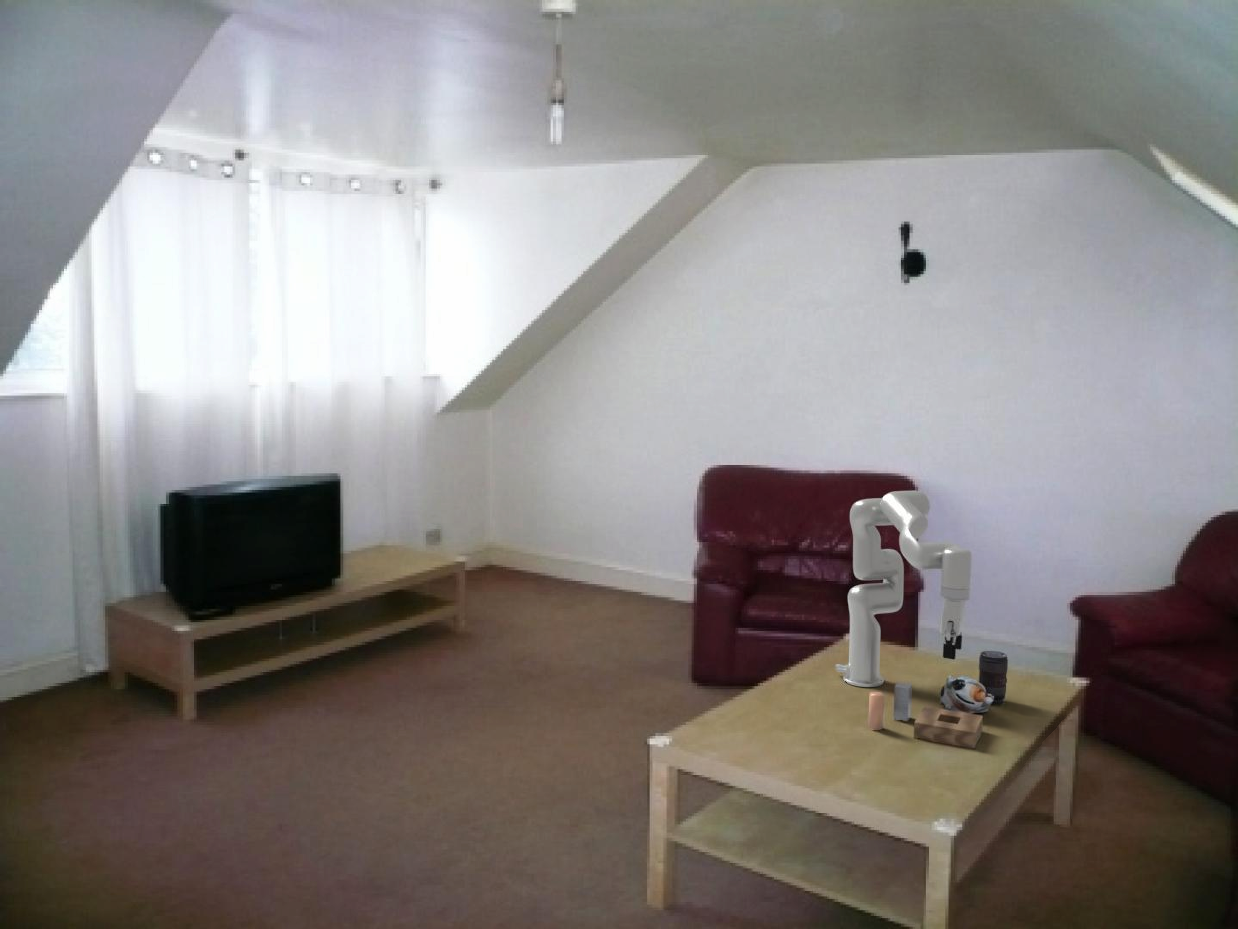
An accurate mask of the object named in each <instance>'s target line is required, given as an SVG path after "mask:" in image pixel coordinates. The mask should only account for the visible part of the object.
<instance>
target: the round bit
mask: <svg viewBox="0 0 1238 929" xmlns="http://www.w3.org/2000/svg"><path fill="white" fill-rule="evenodd" d="M868 697H869V699H868V700H869V701H868V720H867V722H868V723H867V727H869V728H871V729H874V730H881V729H884V711H885V710H884V709H885V708H884V707H885V705H884V704H885V694H884V693H882V692H880V691H870V692H869V696H868ZM869 728H868V729H869ZM881 731H882V730H881Z"/></svg>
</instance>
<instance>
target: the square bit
mask: <svg viewBox="0 0 1238 929" xmlns="http://www.w3.org/2000/svg"><path fill="white" fill-rule="evenodd" d="M912 687H913V685H912V683H911V684H910V683H905V682H899V681H898V682H897V683H896V684H895V685H894V694H893V695H894V698H893V718H894V719H899V720H904V721H908V720H909V721H910V719H911V716H912V714H911V712H912V691H913V690H912ZM909 718H910V719H909ZM909 721H908V722H909Z"/></svg>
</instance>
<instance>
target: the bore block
mask: <svg viewBox="0 0 1238 929" xmlns="http://www.w3.org/2000/svg"><path fill="white" fill-rule="evenodd" d="M983 718H984V715H980V714H976V713H971V714H969V713H963V712H957V711H951V710H945V708H944V709H943V708H939V707H931V706H926V705H925V706H923V707H922V709H921V711H920V712H919V714H918V715H917V717H916V719H915V721H914V722H913V723H914V725H913V727H914V728H913V738H914V737H917V738H921V739H920V740H923V739H926V740H925V741H928V740H930V741H929V742H935V743H939V742H943V743H942V744H945V743H947V744H946V745H950V744H952V745H951V746H956V745H957V746H956V747H961V746H962V747H963V748H968V749H972V748H976V746H977V743H978V742H979V739H980V738H981V735H982V732H983V720H984V719H983ZM917 738H916V739H917Z"/></svg>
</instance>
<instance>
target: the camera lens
mask: <svg viewBox="0 0 1238 929" xmlns="http://www.w3.org/2000/svg"><path fill="white" fill-rule="evenodd" d="M978 658H979V659H978V670H979V675H978V682H979V683H981V684H982V685H983V686H984V687H985V689H986V694H991V695H992V696H994V700H993V702H992V704H991V705H990V706H993V705H998V706H1001V705H1003V704H1004V700H1005V698H1006V694H1007V684H1008V678H1007V673H1008V665H1009V664H1008V661H1009V659H1008V654H1007V653H1004V652H1002V651H997V650H983V651H981V652H980V655H979V657H978Z"/></svg>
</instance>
